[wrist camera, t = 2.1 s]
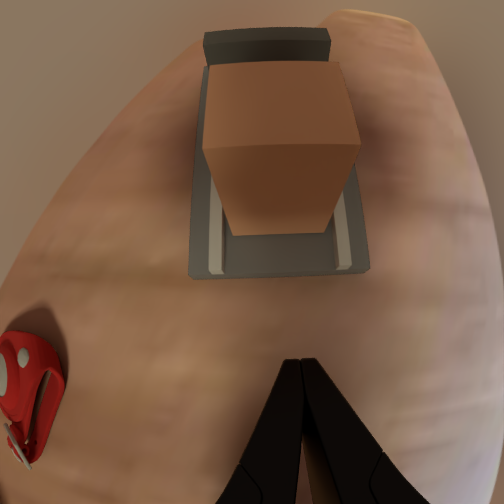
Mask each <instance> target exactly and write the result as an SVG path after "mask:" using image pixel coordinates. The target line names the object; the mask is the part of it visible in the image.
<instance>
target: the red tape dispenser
mask: <svg viewBox="0 0 504 504" xmlns="http://www.w3.org/2000/svg"><path fill="white" fill-rule="evenodd" d="M47 370H50V371H51V372H52V373H51V375H50V378H49V381H48V384H47V387H46V390H45V393H44V396H43V399H42V402H41V405H40V409H39V412H38V415H37V418H36V422H35V426H34V430H33V433H32V435H31V438H30V440H29V442H28V443H27V444H25V441H26V439H27V436H28V431H29V427H30V421H31V416H32V411H33V406H34V401H35V397H36V392H37V389H38V386H39V384H40V382H41V379H42V377H43V375H44V373H45V371H47ZM64 389H65V383H64V378H63V374H62V370H61V366H60V362H59V357H58V355H57V353H56V351H55V350H54V348H53V347H52V346H51V345H50V344H49V343H48V342H46V341H45V340H44V339H42V338H41V337H39V336H37V335H34V334H31V333H27V332H23V331H14V330H13V331H7V332H5V333H3V334H2V335H1V337H0V408H1V410H2V412H3V413H4V415H5V416H6V417H7V418H8V419H9V420H10V421H12V425H10V428H9V426H8V424H7V423H5V424H4V427H5V429H6V431H7V433H8V437H7V440H8V445H9V446H10V448H11V449H12V452H13V454H14V455H15V457H16V458H17V459H18V460H19V462H24V463H25V465H26V466H27V468H28V469H29V470H31V469H32V467H31V466H30V464H31V463H33V462H35V461H37V460H38V458H39V457H40V456H41V454H42V452H43V449H44V447H45V444H46V441H47V438H48V435H49V432H50V429H51V426H52V423H53V420H54V418H55V415H56V412H57V409H58V407H59V404H60V401H61V399H62V396H63V393H64Z"/></svg>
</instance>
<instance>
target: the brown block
mask: <svg viewBox="0 0 504 504" xmlns="http://www.w3.org/2000/svg"><path fill="white" fill-rule="evenodd" d="M361 145H362V144H361V140H360V136H359V132H358V128H357V124H356V120H355V116H354V113H353V109H352V105H351V102H350V98H349V95H348V91H347V88H346V84H345V81H344V78H343V75H342V72H341V68H340V65H339V62H324V61H262V62H243V63H230V64H219V65H210V68H209V78H208V88H207V98H206V109H205V120H204V132H203V145H202V150H203V152H204V155H205V158H206V161H207V164H208V167H209V170H210V172H211V175H212V178H213V181H214V184H215V187H216V189H217V192H218V195H219V198H220V201H221V204H222V206H223V209H224V212H225V215H226V218H227V220H228V223H229V226H230V229H231V232H232V234H233V236H242V235H268V234H296V233H324V231H325V229H326V227H327V225H328V223H329V220H330V218H331V216H332V214H333V211H334V209H335V207H336V204H337V202H338V200H339V198H340V195H341V193H342V191H343V188H344V186H345V184H346V181H347V179H348V176H349V174H350V172H351V169H352V167H353V164H354V162H355V160H356V157H357V155H358V152H359V150H360V147H361Z"/></svg>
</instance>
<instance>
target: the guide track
mask: <svg viewBox="0 0 504 504" xmlns="http://www.w3.org/2000/svg"><path fill="white" fill-rule="evenodd" d="M330 46H331V39H330V36H329V33H328V31H327V28H306V27H305V28H304V27H269V28H248V29H235V30H234V29H233V30H223V31H213V32H205V35H204V41H203V48H204V53H205V57H206V61H207V66H205V67H204V71H203V79H202V87H201V96H200V105H199V114H198V124H197V135H196V146H195V158H194V171H193V185H192V201H191V218H190V240H189V268H188V275H189V276H190V277H191V278H193V279H233V278H265V277H292V276H316V275H337V274H357V273H365V272H366V271H367V270H369V269H370V261H369V253H368V245H367V237H366V230H365V223H364V216H363V209H362V203H361V197H360V191H359V185H358V180H357V174H356V169H355V164H353V167H352V169H351V172H350V174H349V176H348V179H347V181H346V184H345V186H344V188H343V191H342V193H341V195H340V198H339V200H338V202H337V204H336V207H335V209H334V211H333V214H332V216H331V218H330V220H329V223H328V225H327V227H326V229H325V231H324V233H296V234H268V235H242V236H233V234H232V232H231V229H230V226H229V223H228V220H227V218H226V215H225V212H224V209H223V206H222V204H221V201H220V198H219V195H218V192H217V189H216V187H215V184H214V181H213V178H212V175H211V172H210V170H209V167H208V164H207V161H206V158H205V155H204V152H203V150H202V145H203V132H204V120H205V109H206V98H207V88H208V78H209V68H210V65H219V64H230V63H243V62H262V61H324V62H328V59H329V53H330Z"/></svg>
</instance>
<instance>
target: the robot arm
mask: <svg viewBox="0 0 504 504" xmlns="http://www.w3.org/2000/svg"><path fill="white" fill-rule="evenodd" d="M301 443H303V448H304V454H305V460H306V465H307V471H308V477H309V483H310V488H311V494H312V500H313V504H430V503H429V502H428V501H427V500H426V499H425V498H424V497H423V496H422V495H421V494H420V493H419V492H418V491H417V490H416V489H415V488H414V487H413V486H412V485H411V484H410V483H409V482H408V481H407V480H406V479H405V477H404V476H403V475H402V474H401V473H400V471H399V470H398V469H397V468H396V466H395V465H394V464H393V463H392V461H391V460H390V459H389V457H388V456H387V455H386V453H385V452H383V449H382V448H381V447H380V445H379V444H378V443H377V441H376V440H375V439H374V437H373V436H372V434H371V433H370V432H369V430H368V429H367V428H366V426H365V425H364V424H363V422H362V421H361V420H360V418H359V417H358V415H357V414H356V413H355V411H354V410H353V409H352V407H351V406H350V404H349V403H348V402H347V400H346V399H345V398H344V396H343V395H342V394H341V392H340V391H339V389H338V388H337V387H336V385H335V384H334V383H333V381H332V380H331V378H330V377H329V376H328V374H327V373H326V371H325V370H324V369H323V367H322V366H321V365H320V363H319V362H318V360H317V359H315V358H302V359H301V360H299V359H285V360H284V361H283V363H282V366H281V368H280V371H279V373H278V376H277V378H276V380H275V383H274V385H273V387H272V390H271V392H270V395H269V397H268V399H267V401H266V404H265V406H264V408H263V411H262V413H261V415H260V417H259V420H258V422H257V424H256V426H255V429H254V431H253V433H252V435H251V437H250V439H249V442H248V444H247V446H246V448H245V450H244V452H243V454H242V456H241V459H240V461H239V464H238V465H237V466H236V469H235V471H234V473H233V475H232V477H231V478H230V480H229V482H228V484H227V486H226V488H225V489H224V491H223V493H222V494H221V496H220V497H219V499H218V500H217V502H216V503H215V504H295V500H296V492H297V483H298V474H299V464H300V454H301Z"/></svg>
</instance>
